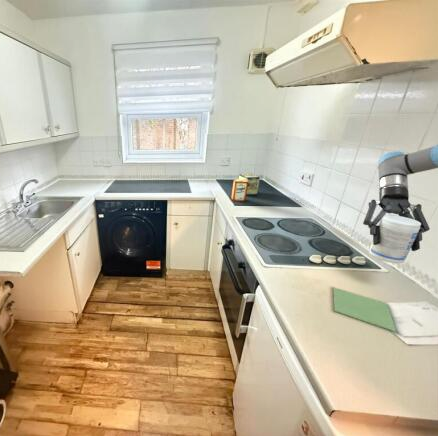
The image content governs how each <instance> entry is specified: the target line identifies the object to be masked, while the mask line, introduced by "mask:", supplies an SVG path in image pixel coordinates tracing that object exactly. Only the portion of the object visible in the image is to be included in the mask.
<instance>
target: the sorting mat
mask: <svg viewBox="0 0 438 436" xmlns="http://www.w3.org/2000/svg"><path fill="white" fill-rule="evenodd" d="M333 304H334V305H333V306H334V312H335V313H339V314H342V315H344V316H347V317H349V318H353V319H355V320H359V321H361V322H365V323H368V324H371V325H374V326H376V327H379V328H383V329H385V330H388V331H391V332H394V333H397V329H396V326H395V323H394V319H393V318H392V315H391V311H390V309H389V308H390V307H389V305H388V303H386V302H382V301H380V300H376V299H373V298H370V297H366V296H362V295H360V294H356V293H353V292H350V291H346V290H343V289H339V288H336V287H333Z"/></svg>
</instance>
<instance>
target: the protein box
mask: <svg viewBox="0 0 438 436" xmlns="http://www.w3.org/2000/svg"><path fill="white" fill-rule="evenodd" d="M260 178H261V177H260V176H257V175H255V174H253V173H239V176H238V179H241V180H247V181H248V188H247V194H246V197H247V196H250V197H251V196H258V195H257V194H258V190H259V186H260Z"/></svg>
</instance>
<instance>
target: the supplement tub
mask: <svg viewBox="0 0 438 436" xmlns="http://www.w3.org/2000/svg"><path fill="white" fill-rule="evenodd" d="M414 219H415V218H414ZM414 219H410V218H406V217H402V216H399V215H396V214H385V215H384V216H383V217H382V219H381V220H380V221H379V223H378V225H379V226H380V243H379V244H377V245H373V241H372V242H371V244H370V247H369V250H368V253H369V254H370V255H371V256H372V257H373V258H375V259H377V260H380V261H383V262H385V263H386V262H387V263H391V264H402V263H404V262H405V261H406V259H407V257H408V255H409V252H410V251H411V247H412V244H413V242H414V240H415V238H416V236H417V234H418V232H419V229H420V226H421V223H420V222H418V221H416V220H414Z"/></svg>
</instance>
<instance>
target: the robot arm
mask: <svg viewBox="0 0 438 436" xmlns="http://www.w3.org/2000/svg"><path fill="white" fill-rule="evenodd" d="M377 167H378V169H377V170H378V191H379V192H378V195H379V196H378V199H379V200H376V199H372V200H370V201H369V202H368V208H367V212H366V214H365V217H364V220H363V222H362V224H363V225H364V226H367V228H368V229H369V235H371V236H372V242H373V245H377V244H379V243H380V226H379V223H380V222H381V219H382V218H383V216H385V215H387V214H393V215H397V216H402V217H406V218H410V219H414V220H416V221H418V222H420V223H421V226H420V229H419V232H418V234H417V236H416V238H415V240H414V242H413V244H412V247H411V249H410V251H411V252H416V251H418V250H420V249H421V245H420V244H421V243H420V242H422V241H423V233H426V232H428V231H430V230H431V228H430V226H429V224H428V222H427V221H428V220H426V217H425V215H424V213H423V210H422V204H421V203H418V204H411V203H410V201H409V198H410V196H409V195H410V194H409V179H408V176H410V175H413V174H417V173H421V172H426V171H432V170H435V169H438V144H437V145H433V146H430V147H426V148H424V149H420V150H418V151H414V152H410V153H407V154H406V153H404V152H403V151H390V152H387V153H384V154H383V155H381V156H380V157H379V160H378V166H377ZM377 206H379V207H380V209H381V210H380V211H379V213H378V214H377V215H376V217H374V219H373V216H374V214H375V211H376V208H377ZM409 209H410V210H409ZM411 213H412V214H411ZM372 219H373V220H372Z"/></svg>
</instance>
